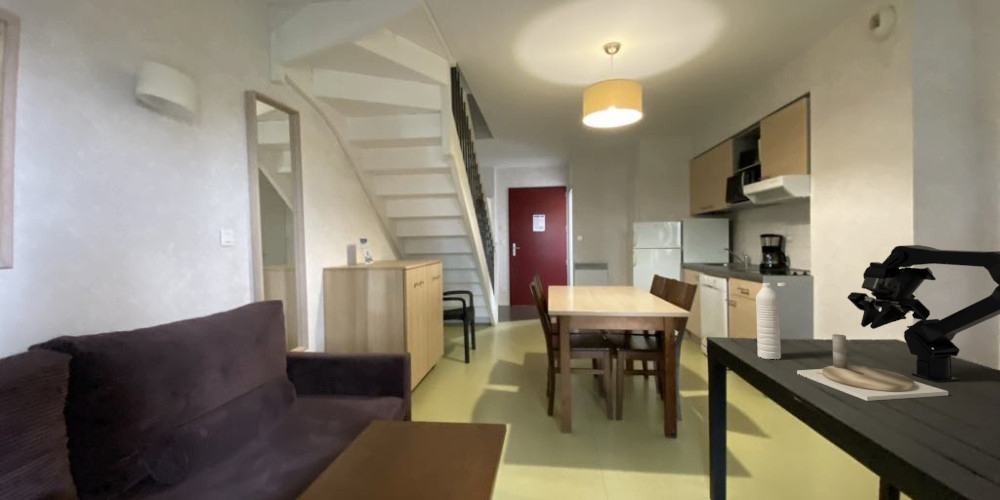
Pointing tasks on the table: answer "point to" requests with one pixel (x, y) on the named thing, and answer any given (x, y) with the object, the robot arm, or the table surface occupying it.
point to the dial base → (872, 394)
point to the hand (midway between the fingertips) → (867, 326)
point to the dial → (862, 372)
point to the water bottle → (768, 322)
